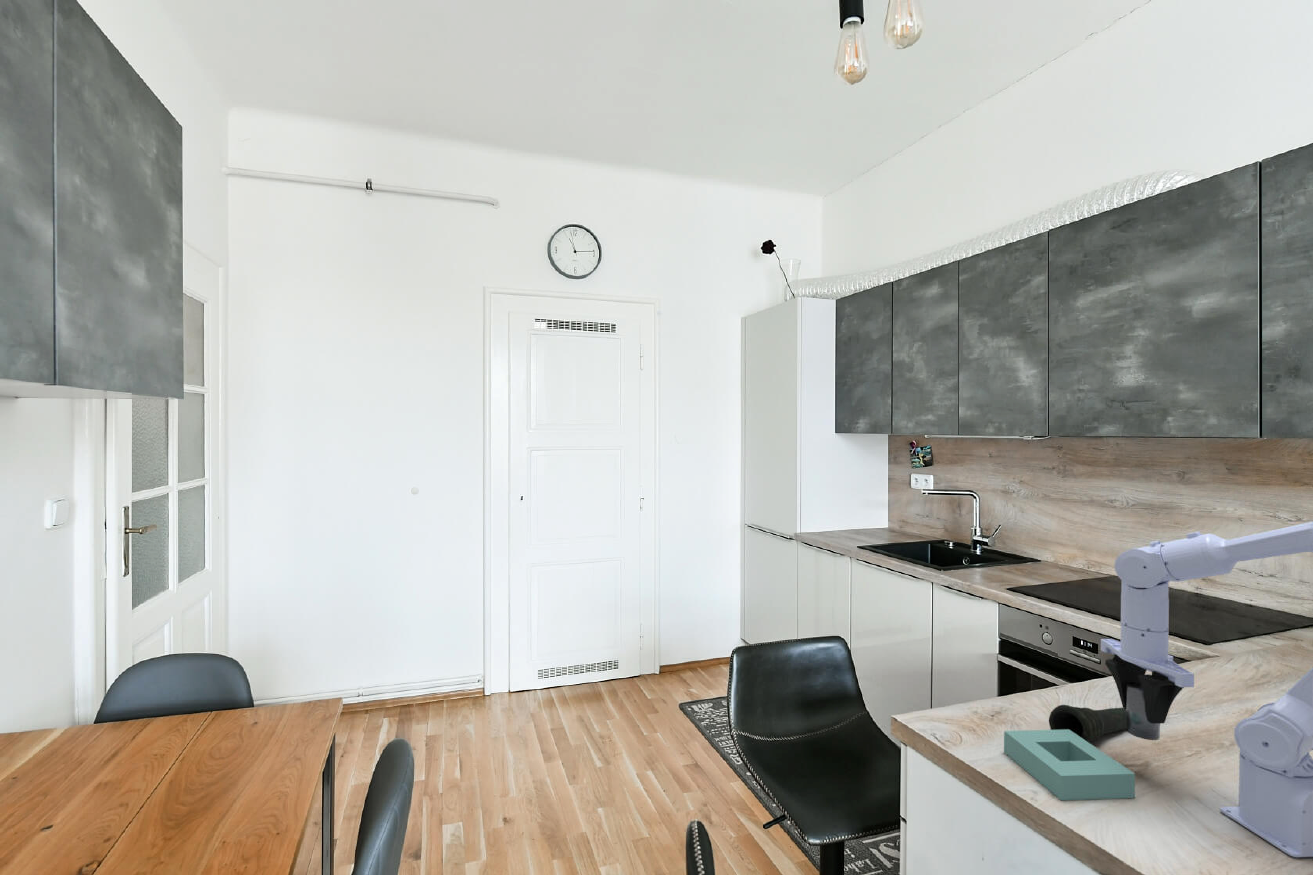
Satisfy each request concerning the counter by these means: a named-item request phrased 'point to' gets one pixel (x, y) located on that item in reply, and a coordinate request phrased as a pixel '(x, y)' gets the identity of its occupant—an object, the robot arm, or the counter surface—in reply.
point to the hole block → (1069, 765)
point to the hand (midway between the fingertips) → (1143, 715)
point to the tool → (1087, 721)
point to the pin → (1139, 714)
